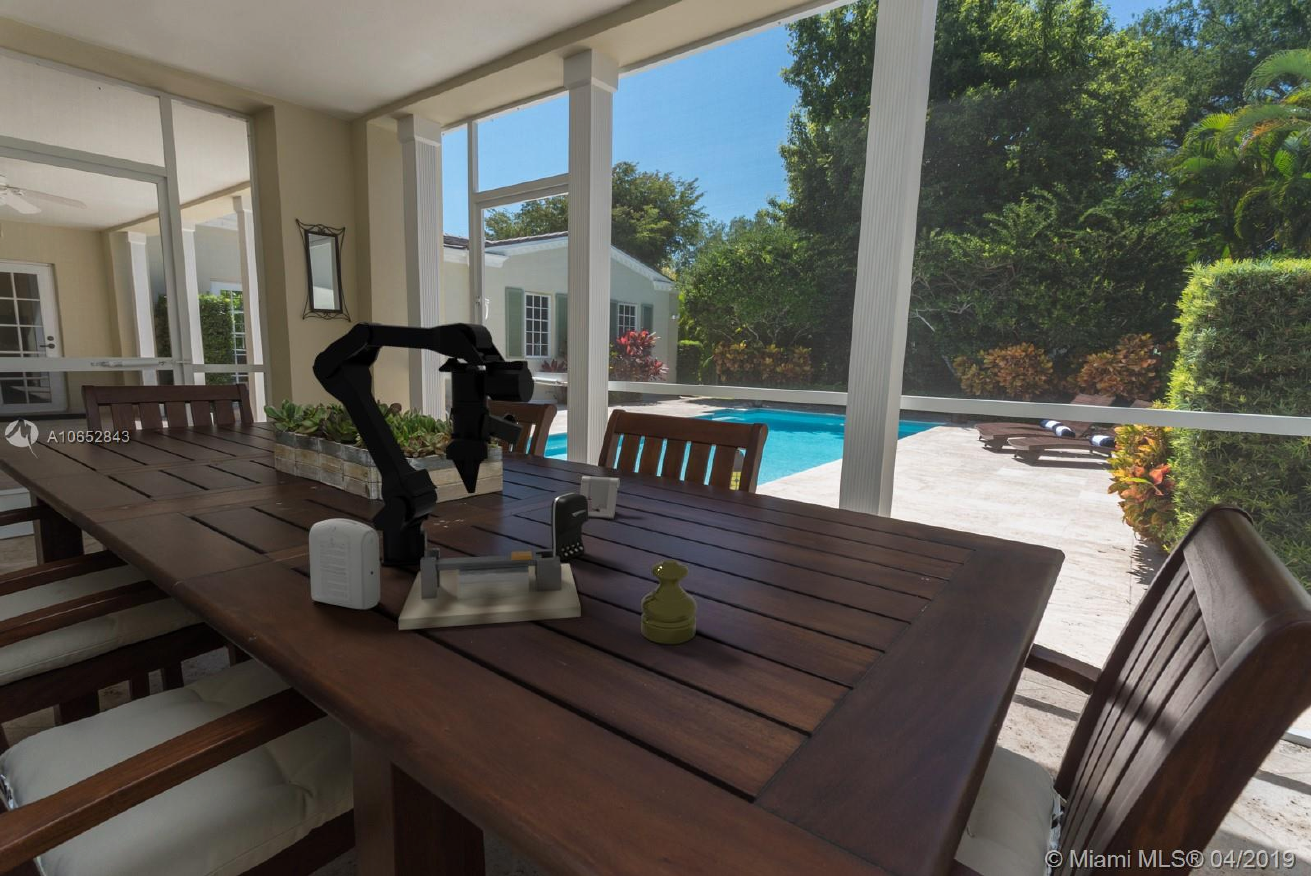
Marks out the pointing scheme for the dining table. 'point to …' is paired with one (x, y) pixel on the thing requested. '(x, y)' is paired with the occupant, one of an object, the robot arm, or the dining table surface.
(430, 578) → the bracket
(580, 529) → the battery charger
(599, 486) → the portable electronic device stand
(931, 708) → the dining table surface
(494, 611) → the base board
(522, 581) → the finned block
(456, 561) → the strap
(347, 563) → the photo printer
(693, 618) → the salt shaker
